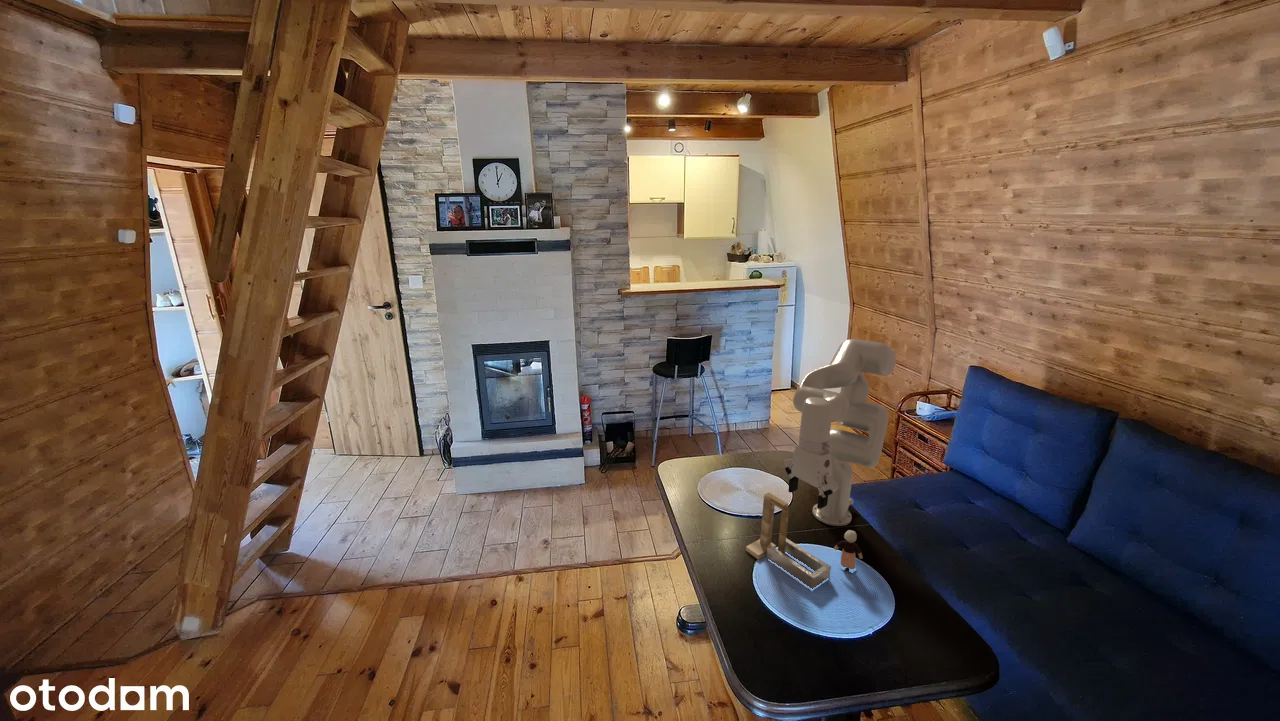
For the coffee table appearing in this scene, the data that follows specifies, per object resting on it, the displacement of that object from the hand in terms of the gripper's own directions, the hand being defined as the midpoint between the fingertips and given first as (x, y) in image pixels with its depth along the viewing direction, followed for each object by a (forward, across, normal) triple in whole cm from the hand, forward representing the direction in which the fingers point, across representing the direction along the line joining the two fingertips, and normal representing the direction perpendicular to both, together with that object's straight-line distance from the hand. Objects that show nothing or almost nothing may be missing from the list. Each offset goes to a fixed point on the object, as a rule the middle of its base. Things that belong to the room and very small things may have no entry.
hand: (806, 498), depth 137 cm
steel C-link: (+24, 0, 0) cm, 24 cm away
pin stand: (+24, +10, +3) cm, 26 cm away
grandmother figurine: (+24, -7, -12) cm, 28 cm away
